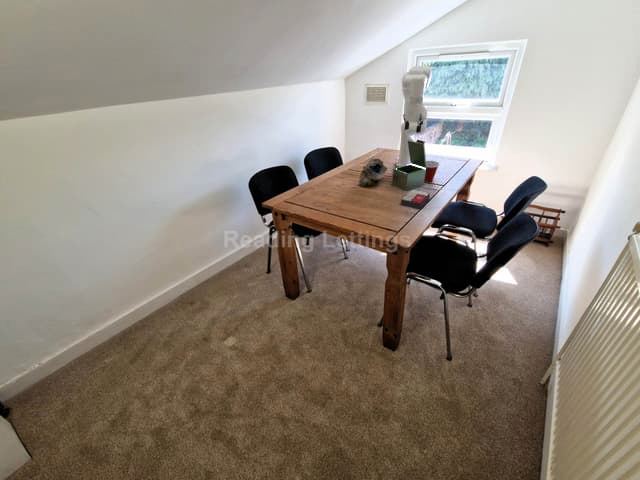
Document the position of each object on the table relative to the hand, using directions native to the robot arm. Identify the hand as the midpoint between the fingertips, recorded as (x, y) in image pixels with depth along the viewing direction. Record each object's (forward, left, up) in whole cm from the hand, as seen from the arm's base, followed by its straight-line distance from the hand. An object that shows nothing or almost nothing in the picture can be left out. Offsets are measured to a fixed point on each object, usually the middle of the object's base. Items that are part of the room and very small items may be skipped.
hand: (412, 131), depth 174 cm
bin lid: (+7, -1, -13) cm, 15 cm away
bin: (+7, -6, -32) cm, 33 cm away
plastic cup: (+10, +10, -32) cm, 35 cm away
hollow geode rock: (-12, -18, -32) cm, 39 cm away
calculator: (+28, -21, -32) cm, 47 cm away
